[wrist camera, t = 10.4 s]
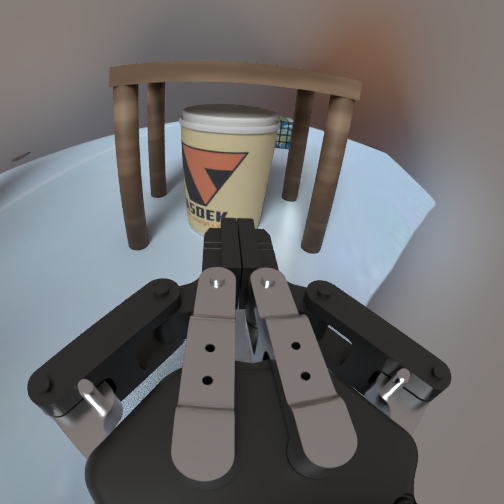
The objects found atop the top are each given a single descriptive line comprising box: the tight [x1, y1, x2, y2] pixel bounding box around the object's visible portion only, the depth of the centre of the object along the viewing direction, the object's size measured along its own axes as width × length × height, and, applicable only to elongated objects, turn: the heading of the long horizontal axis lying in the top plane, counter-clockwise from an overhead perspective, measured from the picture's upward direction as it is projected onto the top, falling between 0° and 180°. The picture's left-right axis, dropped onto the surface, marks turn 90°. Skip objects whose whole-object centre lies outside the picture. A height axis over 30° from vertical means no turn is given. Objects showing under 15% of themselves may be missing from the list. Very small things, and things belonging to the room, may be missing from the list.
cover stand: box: [109, 61, 362, 253], centre depth 27 cm, size 13×19×17 cm
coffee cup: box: [179, 104, 280, 236], centre depth 28 cm, size 9×9×12 cm
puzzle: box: [275, 116, 293, 149], centre depth 57 cm, size 6×6×6 cm
